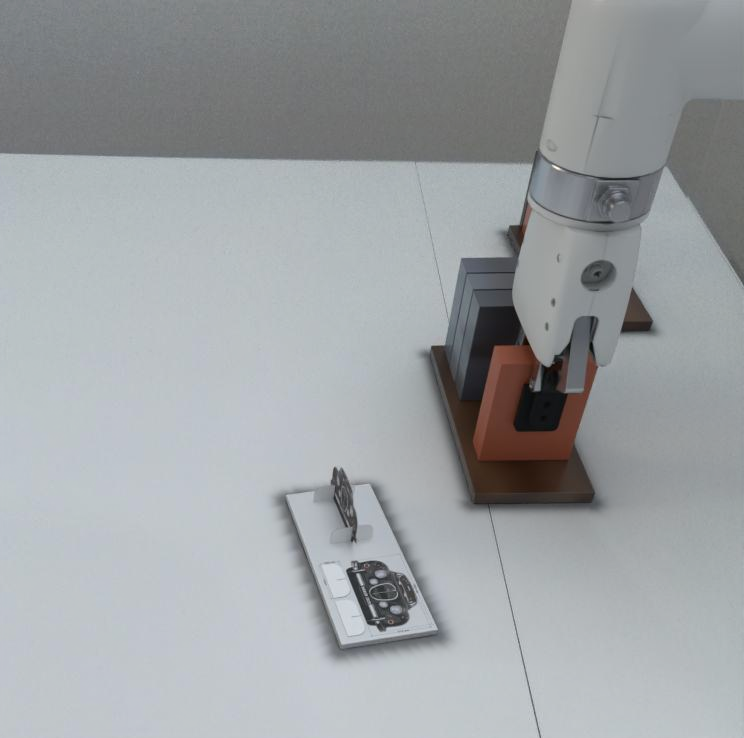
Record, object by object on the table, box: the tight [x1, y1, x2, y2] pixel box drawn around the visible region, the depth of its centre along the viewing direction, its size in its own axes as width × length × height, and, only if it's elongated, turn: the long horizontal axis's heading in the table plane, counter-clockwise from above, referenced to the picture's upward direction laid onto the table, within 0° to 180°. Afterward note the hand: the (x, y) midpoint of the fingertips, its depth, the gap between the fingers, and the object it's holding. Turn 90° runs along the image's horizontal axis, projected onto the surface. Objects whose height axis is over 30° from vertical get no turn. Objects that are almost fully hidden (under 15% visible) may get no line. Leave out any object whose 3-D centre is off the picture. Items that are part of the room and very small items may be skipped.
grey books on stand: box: [429, 256, 596, 504], centre depth 78 cm, size 9×20×10 cm, turn 0°
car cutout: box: [285, 466, 439, 650], centre depth 68 cm, size 15×7×4 cm, turn 11°
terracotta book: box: [473, 345, 599, 461], centre depth 74 cm, size 7×2×9 cm, turn 90°
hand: (529, 414), depth 74 cm, fingers closed on terracotta book, 2 cm apart
